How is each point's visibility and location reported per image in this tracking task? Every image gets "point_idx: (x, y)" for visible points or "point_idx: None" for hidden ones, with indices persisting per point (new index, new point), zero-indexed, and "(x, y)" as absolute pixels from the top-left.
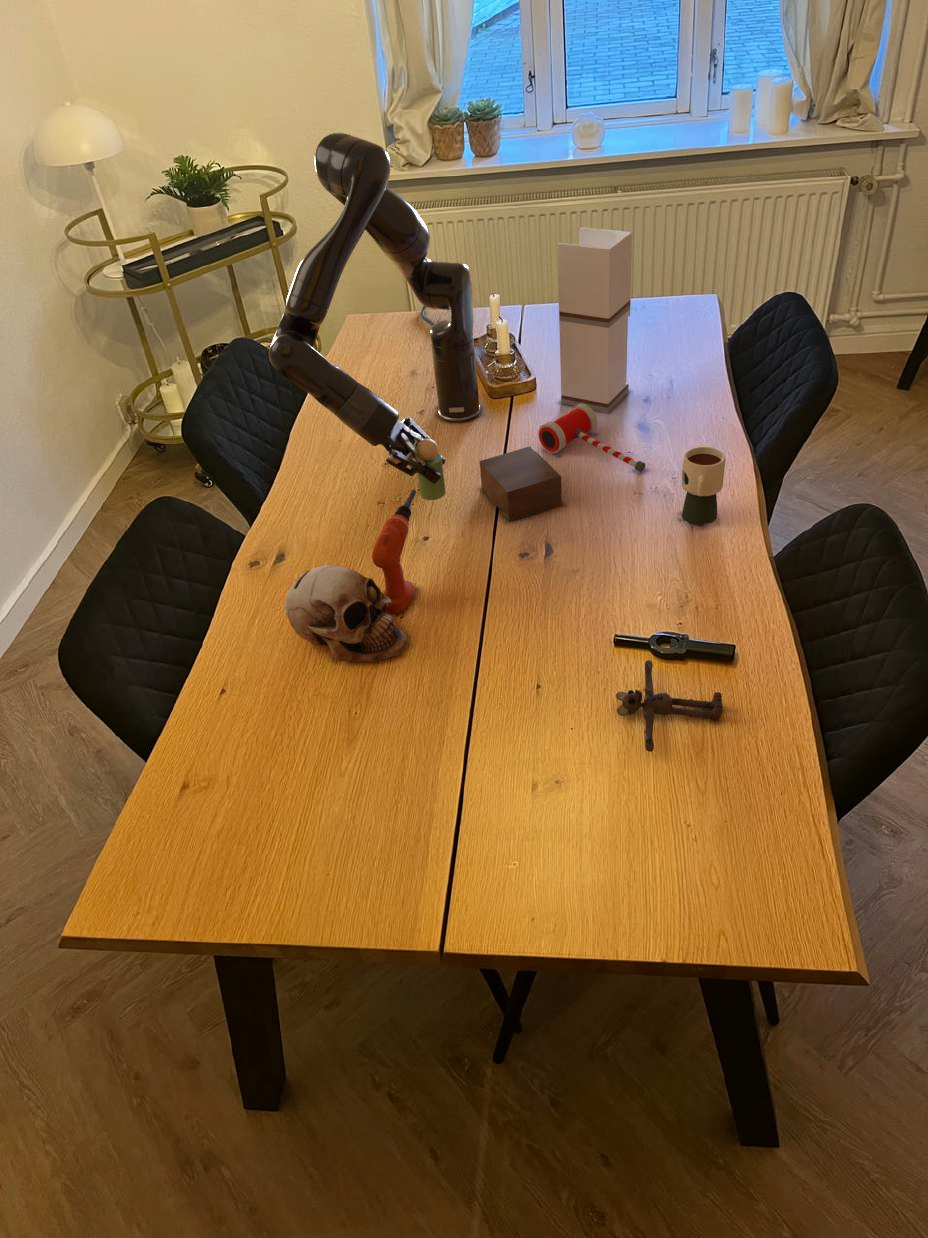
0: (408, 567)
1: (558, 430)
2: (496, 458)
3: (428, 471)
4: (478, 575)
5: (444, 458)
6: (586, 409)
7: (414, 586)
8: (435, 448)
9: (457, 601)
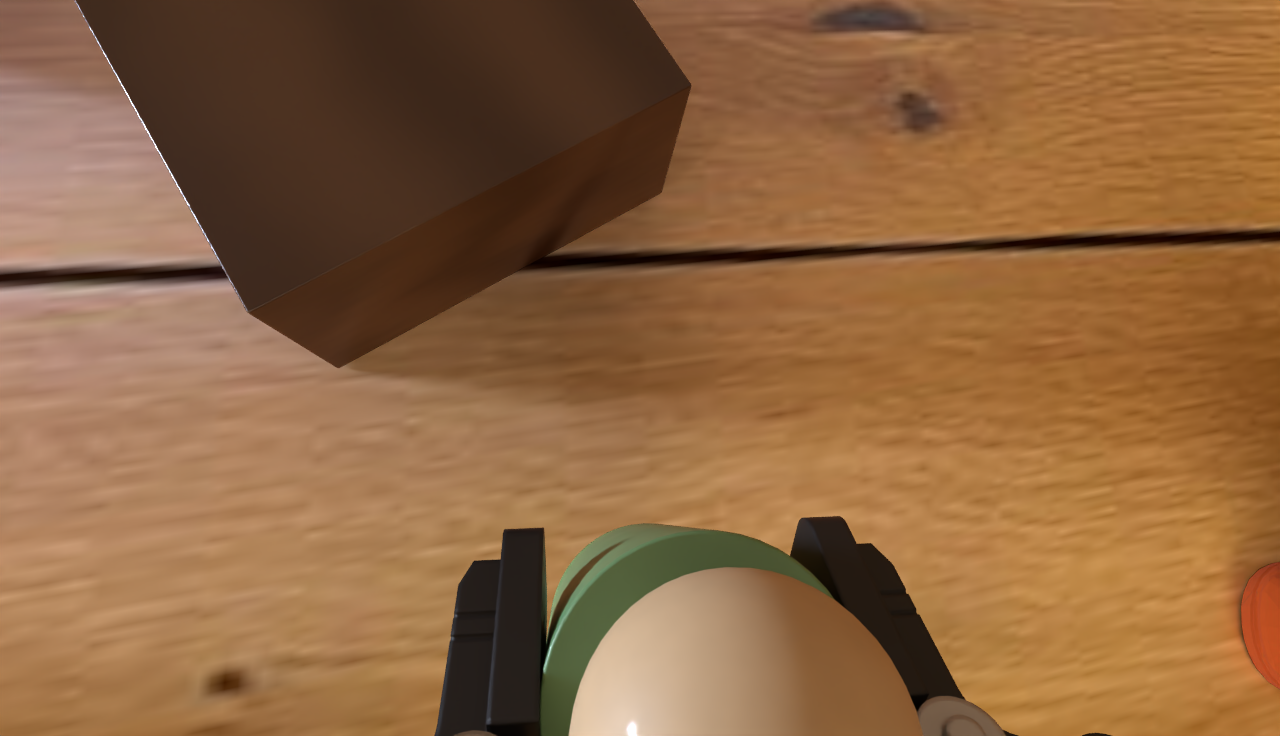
0: (1098, 647)
1: None
2: (222, 189)
3: (929, 640)
4: (1090, 289)
5: (508, 538)
6: None
7: (1276, 569)
8: (816, 594)
9: (1274, 354)
